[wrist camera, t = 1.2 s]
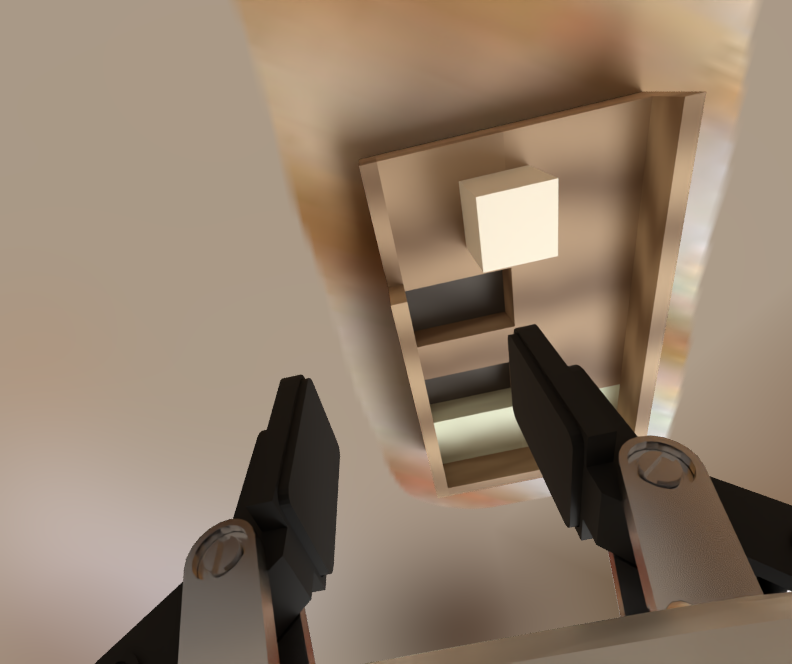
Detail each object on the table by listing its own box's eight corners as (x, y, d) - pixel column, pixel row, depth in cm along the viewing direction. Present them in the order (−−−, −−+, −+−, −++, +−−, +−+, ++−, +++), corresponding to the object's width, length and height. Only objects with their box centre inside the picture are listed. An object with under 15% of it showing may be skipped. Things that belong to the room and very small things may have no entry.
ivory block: (458, 181, 23) (475, 197, 19) (528, 165, 22) (558, 178, 19) (466, 247, 25) (483, 272, 21) (530, 233, 25) (557, 256, 21)
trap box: (359, 159, 24) (358, 174, 20) (642, 91, 23) (706, 91, 19) (429, 451, 37) (437, 498, 33) (610, 414, 37) (643, 457, 32)
